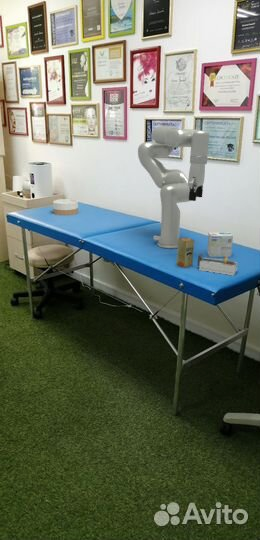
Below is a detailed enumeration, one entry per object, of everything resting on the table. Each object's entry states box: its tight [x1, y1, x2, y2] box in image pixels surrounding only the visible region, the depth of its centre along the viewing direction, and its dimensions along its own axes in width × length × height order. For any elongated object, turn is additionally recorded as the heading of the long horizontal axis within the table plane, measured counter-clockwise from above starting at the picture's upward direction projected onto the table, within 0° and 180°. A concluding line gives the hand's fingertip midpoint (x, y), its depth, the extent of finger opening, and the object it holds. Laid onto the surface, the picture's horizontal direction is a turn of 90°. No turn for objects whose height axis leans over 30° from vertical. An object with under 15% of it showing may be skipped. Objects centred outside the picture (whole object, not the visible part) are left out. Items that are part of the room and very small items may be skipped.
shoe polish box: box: [176, 237, 195, 269], centre depth 179 cm, size 5×5×12 cm
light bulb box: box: [206, 231, 234, 258], centre depth 194 cm, size 11×7×11 cm, turn 92°
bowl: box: [52, 198, 79, 216], centre depth 282 cm, size 17×17×8 cm
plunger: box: [197, 253, 229, 267], centre depth 175 cm, size 12×3×5 cm, turn 66°
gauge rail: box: [198, 256, 238, 277], centre depth 174 cm, size 15×7×4 cm, turn 66°
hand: (195, 198), depth 184 cm, fingers open, 9 cm apart
